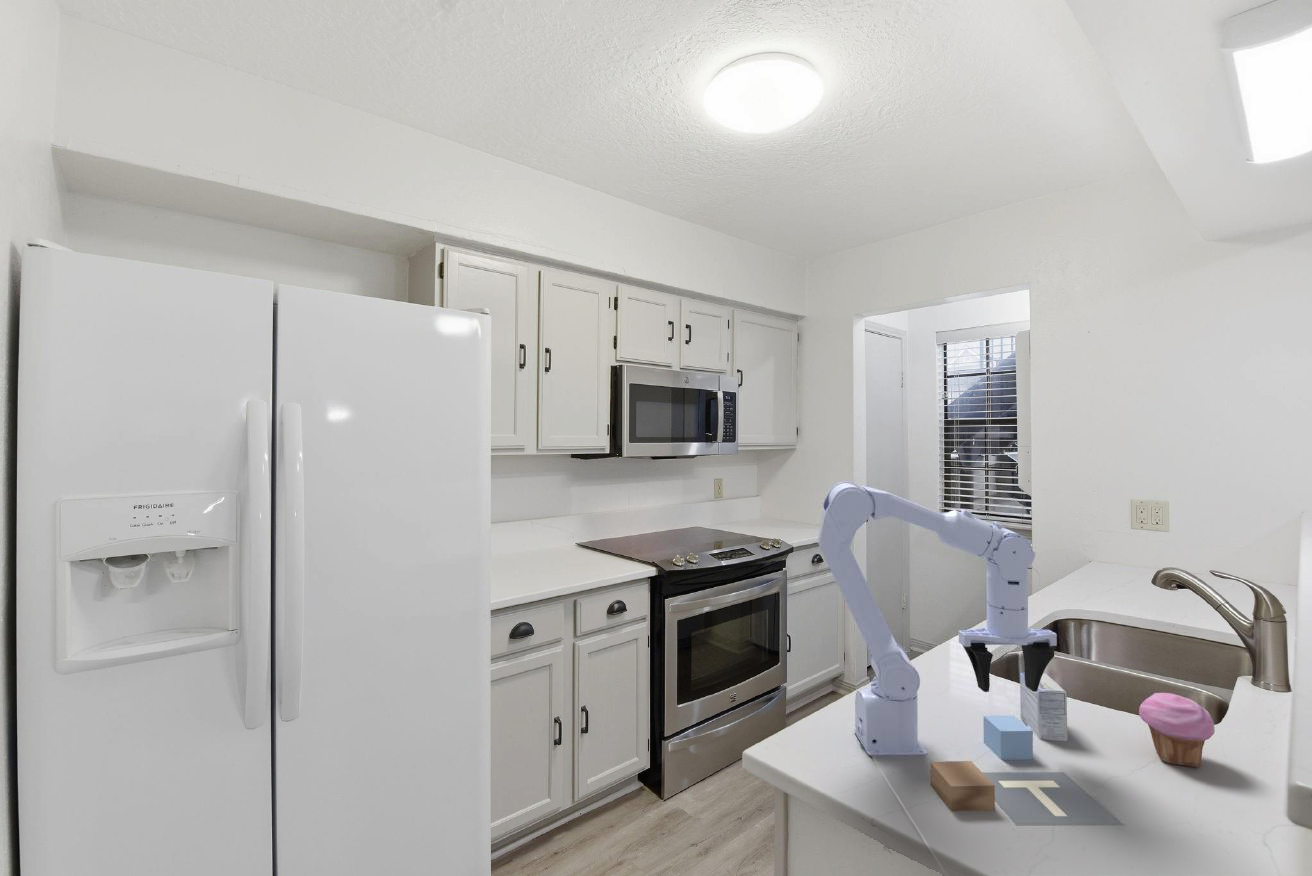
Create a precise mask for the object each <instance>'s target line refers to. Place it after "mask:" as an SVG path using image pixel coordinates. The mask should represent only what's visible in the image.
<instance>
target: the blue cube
mask: <svg viewBox="0 0 1312 876" xmlns="http://www.w3.org/2000/svg"><path fill="white" fill-rule="evenodd" d="M1033 742H1034V732H1033V731H1032V730H1031V728H1030V727H1029V726H1027V725H1026V724H1024V722H1023V721H1021V720H1020V719H1019V718H1018V717H1016V716H1015V715H983V743H984V745H985V746H986V747H988V749H989V750H990V751H991V752H992V753H993V754H994V755H996V756H997V758H998V759H999V760H1009V761H1010V760H1013V761H1014V760H1034V750H1033V749H1034V743H1033Z"/></svg>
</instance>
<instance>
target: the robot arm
mask: <svg viewBox="0 0 1312 876" xmlns="http://www.w3.org/2000/svg"><path fill="white" fill-rule="evenodd" d="M861 487H862V488H863V489H862V488H860V486H859V485H857V484H855V483H853V482H850V481H840V482H838V483H836V484H835V485H833V486H832V487H831V488H830V489H829V490H828V493H827V495H826V497H825V498H824V500H823V502H822V508H821V515H820V516H821V517H820V523H819V530H818V538H817V543H818V546H819V549H820V551H821V553H822V555H823V557H824V559H825V562H826V564H827V566H828V567H829V569H830V571H831V574H832V576H833V577H834V580H835V583H836V584H837V586H838V588H839V590H840V592H841V594H842V596H843V598H844V600H845V603H846V604H847V606H848V608H849V611H850V613H851V615H852V617H853V619H854V622H855V623H856V625H857V627H858V629H859V632H860V633H861V636H862V638H863V641H864V642H865V643H866V646H867V648H868V651H869V662H870V665H871V668H872V669H873V671H874V673H875V676H874V677H873V678H872V681H871V682H870V686H869V687H867V688H865V689H860V690H859V689H858V690H857V691H856V692H855V697H854V704H855V705H854V706H855V709H854V711H855V714H854V715H855V717H854V718H855V719H854V720H855V724H854V725H855V728H854V730H853V731H854V735H855V736H856V737H857V738H858V740H859V741H860V743H861V745H862V747H863V748H864V750H865V751H866V753H867V755H868V756H871V757H873V756H915V755H918V756H920V755H921V756H923V755H924V756H926V755H928V754H929V752H928V751H927V749H926V748H925V747H924V746H923V744H922V743H921V742H920V741H919V736H918V735H919V733H918V732H919V731H918V730H919V727H918V723H919V722H918V719H919V717H918V711H919V710H918V691H919V689H920V685H921V677H920V674H919V672H918V671H917V669H916V667H915V666H914V665H913V664H912V661H911V660H910V658H909V657H908V654H907V652H906V650H905V649H904V648H903V647H902V646H901V645H900V644H898V642H896V639H895V638H894V635H893V634H892V632H891V629H890V627H889V626H888V624H887V621H886V619H885V618H884V616H883V615H884V614H883V613H882V611H881V610H880V607H879V605H878V603H877V601H876V599H875V596H874V595H873V593H872V591H871V589H870V586H869V585H868V583H867V580H866V579H865V576H864V574H863V572H862V570H861V568H860V566H859V564H858V562H857V560H856V557H855V556H854V553H853V551H852V549H851V548H850V546H851V543H852V541H853V540H854V538H855V535H856V533H857V531H858V530H859V529H860V528H861V527H862V526H863V525H864V524H865V523H866V522H867V521H868V520H869V519H870V517H871V518H872V519H873V520H874V521H875V520H876V521H877V520H880V519H884V518H887V517H892V518H895V519H898V520H901V521H904V522H907V523H909V524H912V525H915V526H919V527H921V528H924V529H927V530H930V531H932V532H935V533H936V535H937V537H938V539H939V541H940V542H941V543H942V544H944V545H948V546H950V547H952V548H955V549H958V550H960V551H962V552H965V553H967V554H970V555H973V556H976V557H978V558H983V559H984V558H986V626H985V627H979V628H973V629H966V630H964V629H963V630H958V643H959V644H961V645H962V647H963V650H964V651H965V652H966V655H967V656H968V658H969V659H968V660H970V663H971V666H972V669H973V671H974V674H975V679H976V682H977V687H978V688H979V689H980V690H981V691H982V692H984V693H988V692H990V681H991V680H990V674H991V673H990V671H991V664H992V659H993V656H994V654H993V653H992V652H990V651H989V650H988V647H987V646H993V645H995V646H996V645H997V646H999V645H1002V646H1003V645H1004V646H1005V645H1009V646H1010V645H1011V646H1012V645H1014V646H1021V650H1022V657H1023V662H1024V672H1025V685H1026V687H1027V688H1029V689H1030V690H1032V691H1033V692H1037V690H1038V687H1039V683H1040V680H1041V677H1042V675H1043V673H1044V672H1045V670H1046V668H1047V666H1048V665H1049V663H1050V662H1051V660H1053V658H1054V657H1055V649H1054V648H1052V647H1056V646H1057V644H1058V643H1057V642H1058V641H1057V640H1058V639H1057V638H1058V637H1057V636H1058V635H1057V633H1056V632H1053V631H1052V630H1050V629H1039V628H1037V629H1036V628H1029V577H1028V568H1029V567H1030V566H1031V565H1032V564H1033V562H1034V560H1035V558H1036V552H1035V551H1033V547H1032V544H1031V542H1030V541H1029V540H1028V539H1027V538H1026V537H1025V536H1024V535H1022V534H1019V533H1017V532H1015V531H1013V530H1011V529H1008V528H1006V527H1005V526H1003V525H1002V524H1001V523H999V522H996V521H994V522H992V523H991V522H988V521H985V520H983V519H980V518H977V517H975V516H973V513H972V512H971V511H969V510H966V509H963V508H962V509H961V511H959V510H956V509H954V510H950V511H947V512H944V513H941V512H937V511H935V510H933V509H931V508H928V507H926V506H923V505H920V504H918V503H916V502H913V501H911V500H908V499H906V498H903V497H902V496H901V497H900V496H898V495H896V494H894V493H891V492H888V491H885V490H883V489H882V490H881V489H878V488H874V487H870V486H866V485H861Z"/></svg>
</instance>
